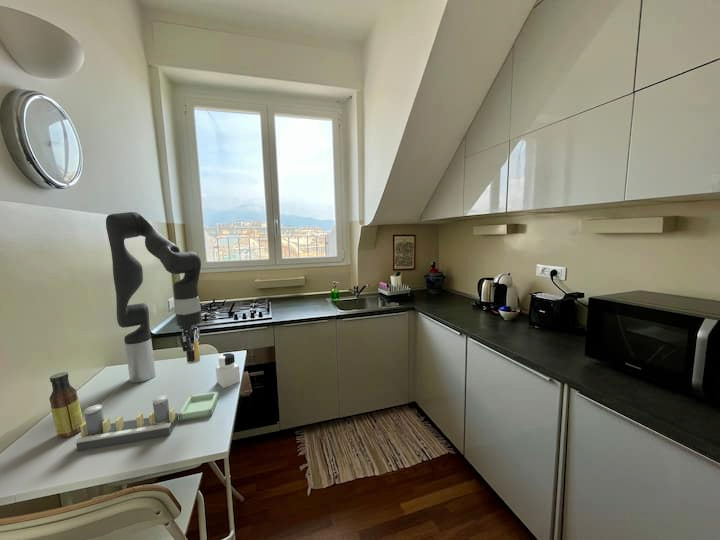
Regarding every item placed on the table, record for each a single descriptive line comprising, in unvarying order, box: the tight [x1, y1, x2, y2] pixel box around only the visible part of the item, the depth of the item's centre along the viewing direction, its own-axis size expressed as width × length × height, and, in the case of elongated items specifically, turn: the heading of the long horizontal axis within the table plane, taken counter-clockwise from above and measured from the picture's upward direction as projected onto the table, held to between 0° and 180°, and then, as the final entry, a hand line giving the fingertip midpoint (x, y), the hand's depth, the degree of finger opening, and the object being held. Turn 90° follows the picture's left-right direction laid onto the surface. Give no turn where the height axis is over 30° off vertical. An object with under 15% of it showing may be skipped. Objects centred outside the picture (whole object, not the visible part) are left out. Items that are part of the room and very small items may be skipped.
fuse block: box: [75, 407, 179, 452], centre depth 93 cm, size 8×24×6 cm, turn 104°
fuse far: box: [152, 394, 170, 425], centre depth 95 cm, size 4×4×8 cm
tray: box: [178, 391, 220, 422], centre depth 106 cm, size 12×10×2 cm
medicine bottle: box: [215, 352, 241, 389], centre depth 124 cm, size 7×7×12 cm
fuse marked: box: [185, 337, 201, 365], centre depth 103 cm, size 4×4×8 cm
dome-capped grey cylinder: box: [83, 404, 105, 436], centre depth 90 cm, size 4×4×8 cm
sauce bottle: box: [49, 371, 84, 438], centre depth 94 cm, size 7×6×20 cm
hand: (193, 358), depth 103 cm, fingers closed on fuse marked, 4 cm apart
